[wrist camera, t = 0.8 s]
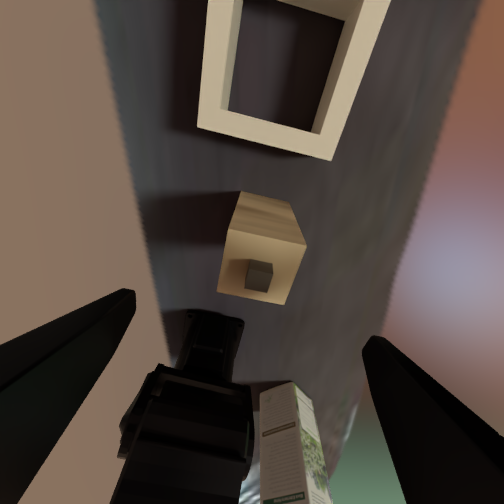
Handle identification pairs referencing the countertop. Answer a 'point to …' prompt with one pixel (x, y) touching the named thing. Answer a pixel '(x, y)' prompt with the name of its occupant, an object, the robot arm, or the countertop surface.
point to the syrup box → (290, 449)
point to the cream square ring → (335, 91)
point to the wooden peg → (261, 250)
